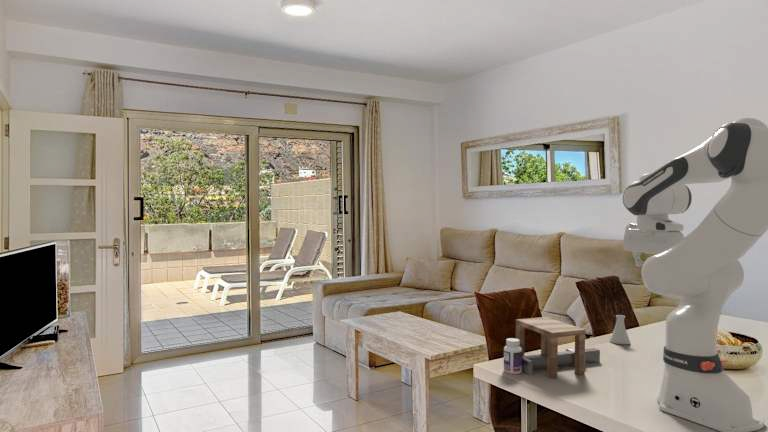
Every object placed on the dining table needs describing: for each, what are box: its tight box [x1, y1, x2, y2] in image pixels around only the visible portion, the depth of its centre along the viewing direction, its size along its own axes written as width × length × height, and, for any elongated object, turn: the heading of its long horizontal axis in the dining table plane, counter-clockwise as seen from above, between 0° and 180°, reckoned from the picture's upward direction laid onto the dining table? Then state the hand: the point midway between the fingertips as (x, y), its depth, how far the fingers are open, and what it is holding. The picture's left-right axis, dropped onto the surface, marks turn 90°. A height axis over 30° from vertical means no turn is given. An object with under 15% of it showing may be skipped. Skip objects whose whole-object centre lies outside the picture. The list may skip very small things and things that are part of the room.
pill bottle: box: [503, 337, 523, 375], centre depth 152 cm, size 5×5×10 cm
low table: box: [515, 316, 586, 380], centre depth 156 cm, size 18×12×14 cm, turn 20°
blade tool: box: [521, 347, 601, 376], centre depth 157 cm, size 8×30×4 cm, turn 110°
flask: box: [609, 314, 631, 345], centre depth 185 cm, size 7×7×10 cm
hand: (651, 267), depth 158 cm, fingers open, 8 cm apart
